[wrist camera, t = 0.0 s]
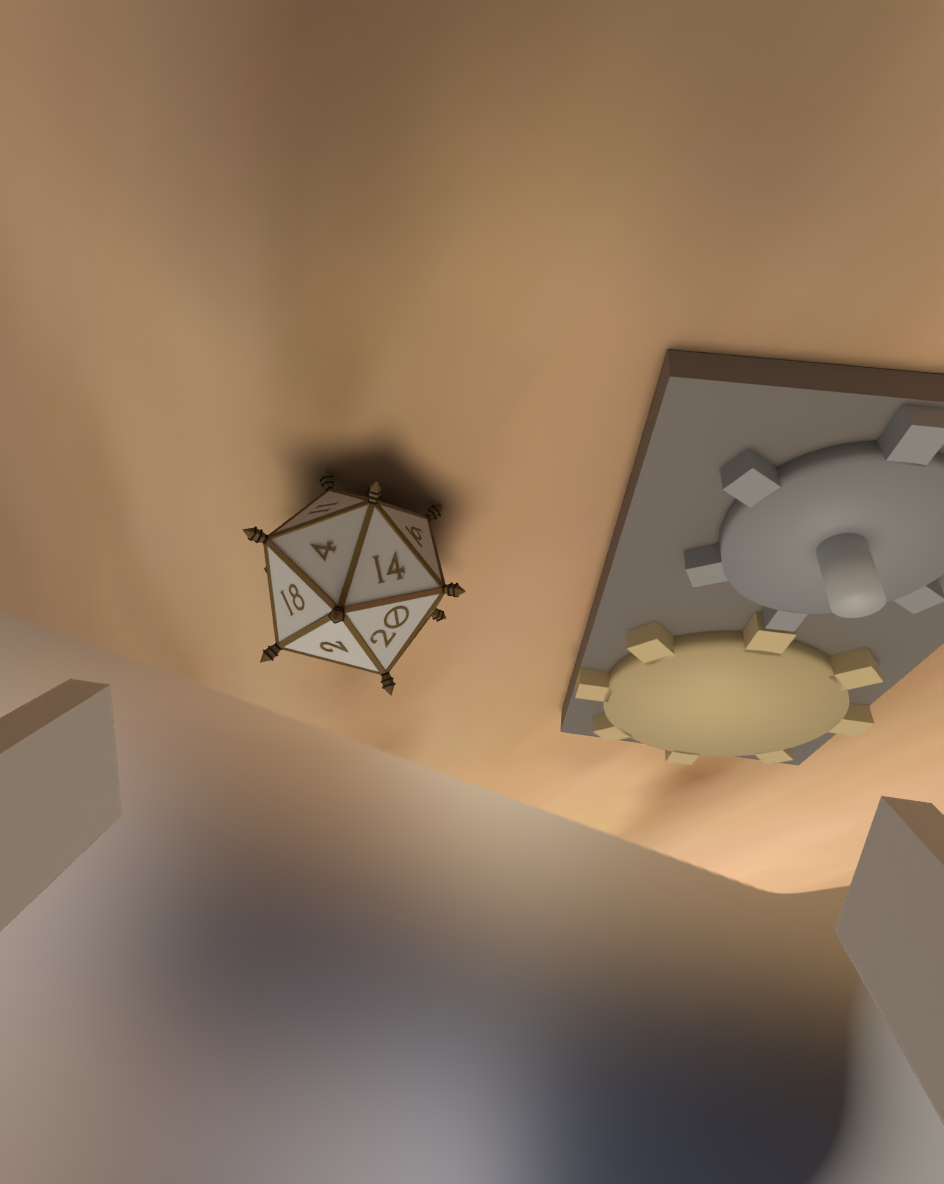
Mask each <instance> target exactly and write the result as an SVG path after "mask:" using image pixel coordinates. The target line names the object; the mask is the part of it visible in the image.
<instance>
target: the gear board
mask: <svg viewBox="0 0 944 1184" xmlns="http://www.w3.org/2000/svg"><path fill="white" fill-rule="evenodd" d="M943 643H944V374H933V373H921V372H910V371H899V370H888V369H877V368H866V367H854V366H843V365H832V364H821V363H810V362H799V361H788V360H776V359H765V358H754V357H743V356H732V355H721V354H709V353H698V352H687V351H676V350H667V353H666V357H665V360H664V363H663V367H662V370H661V374H660V377H659V381H658V384H657V387H656V391H655V394H654V398H653V401H652V404H651V408H650V411H649V415H648V418H647V422H646V425H645V428H644V432H643V435H642V439H641V442H640V445H639V449H638V452H637V456H636V459H635V463H634V466H633V469H632V473H631V476H630V480H629V483H628V486H627V490H626V493H625V497H624V500H623V504H622V507H621V510H620V514H619V517H618V521H617V524H616V528H615V531H614V534H613V538H612V541H611V545H610V548H609V551H608V555H607V558H606V562H605V565H604V569H603V572H602V575H601V579H600V582H599V586H598V589H597V592H596V596H595V599H594V603H593V606H592V610H591V613H590V616H589V620H588V623H587V627H586V630H585V633H584V637H583V640H582V644H581V647H580V651H579V654H578V657H577V661H576V664H575V668H574V671H573V674H572V678H571V681H570V685H569V688H568V692H567V695H566V698H565V702H564V705H563V709H562V717H561V732H566V733H573V734H580V735H587V736H594V737H601V738H603V739H604V740H606V741H607V742H611V741H615V740H622V741H630V742H637V743H644V744H646V745H649V746H652V747H656V748H659V749H663V750H665V757H666V762H673V763H680V764H687V765H692V764H693V763H694V761H695V760H696V759H697V758H698V756H722V757H728V756H736V757H743V758H750V759H757V760H761V761H763V762H764V763H765V764H772V763H785V764H792V765H799V764H801V763H802V762H803V761H804V760H805V759H807V758H808V757H809V756H810V755H811V754H812V753H814V752H815V751H816V750H817V749H818V748H820V747H821V746H822V745H823V744H824V743H826V742H827V741H828V740H829V739H830V738H832V737H833V736H834V735H835V734H836V733H837V734H844V735H851V736H859V735H860V734H861V733H863V732H864V731H865V730H866V729H868V728H869V727H870V726H871V725H873V724H874V721H873V718H872V714H871V711H870V707H869V706H870V705H871V704H872V703H873V702H874V701H876V700H877V699H878V698H879V697H880V696H881V695H883V694H884V693H885V692H886V691H887V690H889V689H890V688H891V687H892V686H893V685H895V684H896V683H897V682H898V681H899V680H901V679H902V678H903V677H904V676H905V675H906V674H908V673H909V672H910V671H911V670H912V669H914V668H915V667H916V666H917V665H918V664H920V663H921V662H922V661H923V660H924V659H925V658H927V657H928V656H929V655H930V654H931V653H933V652H934V651H935V650H936V649H937V648H939V647H940V646H941V645H942V644H943Z"/></svg>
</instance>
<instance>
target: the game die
mask: <svg viewBox="0 0 944 1184" xmlns="http://www.w3.org/2000/svg"><path fill="white" fill-rule="evenodd" d="M332 480H333V478H332V476H330V475H329V474H328V473H327V472H325V471H324V473H323V475H322V478H321V479H320V481H321V482H322V486H323V487H324V488H325V489H326V491H325V492H324V493H323V494H321V495H320V496H319V497H318V498H316V499H315V500H314V501H312V502H311V503H310V504H308V505H307V506H306V507H304V508H303V509H302V510H300V511H299V512H298V513H296V514H295V515H294V516H293V517H291V518H290V519H289V520H287V521H286V522H285V523H283V524H282V525H281V526H279V527H278V528H277V529H275V530H274V531H273V532H271V533H270V534H269V535H266V534H264V533H263V530H262V529H261V530H259V529H257V527H256V526H255V527H254V528H249V529H242V530H243V531H244V533H245V534H246V535H247V537H248V539H249V540H250V541H252V540H254V542H256V543H258V542H261V543H263V545H264V553H265V561H266V567H265V568H264V570H265V571H266V573H267V577H268V584H269V592H270V600H271V608H272V616H273V624H274V632H275V640H276V643H275V644H274V645H272V646H268V648H267V649H266V650H263V651H264V652H263V655H262V658H261V661H260V662H265V661H270V660H272V661H273V659H274V658H275V657H276V656H278V653H279V652H280V650H286V651H290V652H294V653H298V654H302V655H306V656H310V657H313V658H317V659H321V660H325V661H329V662H333V663H337V664H341V665H345V666H349V667H353V668H357V669H361V670H365V671H368V672H372V673H376V674H380V675H381V676H382V681H381V683H382V684H383V687H382V689H385V690H386V691H387V692H388V693H389V694H390V695H392V692H393V688H394V685H395V684H396V683H394V682H393V679H394V678H392V677H391V676H390V674H389V672H390V670H391V669H392V667H393V666H394V665H395V663H396V662H397V661H398V659H399V658H400V657H401V655H402V654H403V653H404V651H405V650H406V649H407V647H408V646H409V645H410V643H411V642H412V641H413V639H414V638H415V637H416V635H417V634H418V633H419V631H420V630H421V629H422V627H423V626H424V625H425V623H426V622H427V621H428V619H429V618H430V617H431V616H432V617H433V620H434V619H436V620H437V622H438V621H440V620H442V619H446V616H445V614H444V611H442V610H439V609H437V608H436V607H437V606H438V604H439V602H440V601H441V599H442V597H443V596H444V594H445V593H446V594H448V596H453V597H458V596H459V595H461V594H462V593H464V592H466V591H465V590H464V589H462V588H461V587H460V586H459V584H458V583H456V584H453V583H450V584H448V585H446V584H445V580H444V576H443V572H442V568H441V564H440V560H439V556H438V552H437V548H436V544H435V540H434V536H433V532H432V528H431V524H430V521H431V520H433V519H437V517H438V516H441V515H440V513H441V509H442V505H441V506H433V505H432V507H431V509H428V512H427V514H426V515H423V514H420V513H417V512H414V511H411V510H408V509H404V508H401V507H398V506H395V505H392V504H389V503H386V502H383V501H379V500H378V499H379V498H380V497H382V495H381V493H382V492H383V490H382V489H381V488H380V486H379V484H378V482H377V481H376V482H375V483H373V484H372V485H371V486H368V491H367V494H368V497H365V496H361V495H357V494H353V493H349V492H345V491H341V490H337V489H334V488H333V485H334V482H333V481H332Z"/></svg>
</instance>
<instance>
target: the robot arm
mask: <svg viewBox="0 0 944 1184" xmlns="http://www.w3.org/2000/svg"><path fill="white" fill-rule="evenodd" d="M110 687H111V686H110V685H109V684H102V683H95V682H88V681H81V680H74V679H69V680H67V681H65V682H64V683H62V684H60V685H58V686H56V687H55V688H53V689H51V690H49V691H48V692H46V693H44V694H42V695H41V696H39V697H37V698H35V699H33V700H31V701H30V702H28V703H26V704H25V705H23V706H21V707H19V708H17V709H15V710H14V711H12V712H10V713H9V714H7V715H5V716H3V717H1V718H0V932H1V931H2V930H3V929H4V928H5V927H6V926H7V925H8V924H9V923H10V922H11V921H12V920H13V919H14V918H15V917H16V916H17V915H18V914H19V913H20V912H22V910H24V909H25V907H27V906H28V905H29V904H30V903H31V902H32V901H33V900H34V899H35V898H36V897H37V896H38V895H39V894H40V893H41V892H42V891H44V889H46V888H47V887H48V886H49V885H50V884H51V883H52V882H53V881H54V880H55V879H56V878H57V877H58V876H59V875H60V874H61V873H62V872H63V871H64V870H65V869H67V868H68V867H69V866H70V865H71V864H72V863H73V862H74V861H75V860H76V859H77V858H78V857H79V856H80V855H81V854H82V853H83V852H84V851H85V850H86V849H87V848H88V847H89V846H91V845H92V844H93V843H94V842H95V841H96V840H97V839H98V838H99V837H100V836H101V835H102V834H103V833H104V832H105V831H106V830H107V829H108V828H109V827H110V826H111V825H113V824H114V823H115V822H116V821H117V820H118V819H119V818H120V817H121V816H122V809H121V798H120V786H119V775H118V764H117V753H116V742H115V730H114V719H113V708H112V698H111V688H110ZM835 933H836V935H837V936H838V938H839V940H840V941H841V943H842V945H843V947H844V949H845V951H846V952H847V954H848V956H849V957H850V959H851V961H852V963H853V965H854V966H855V968H856V970H857V972H858V974H859V975H860V977H861V979H862V981H863V982H864V984H865V986H866V988H867V990H868V991H869V993H870V995H871V997H872V998H873V1000H874V1002H875V1004H876V1006H877V1007H878V1009H879V1011H880V1013H881V1014H882V1016H883V1018H884V1020H885V1021H886V1023H887V1025H888V1027H889V1028H890V1030H891V1032H892V1034H893V1035H894V1037H895V1039H896V1041H897V1043H898V1044H899V1046H900V1048H901V1050H902V1051H903V1053H904V1055H905V1057H906V1059H907V1060H908V1062H909V1064H910V1066H911V1068H912V1069H913V1071H914V1073H915V1075H916V1076H917V1078H918V1080H919V1082H920V1084H921V1085H922V1087H923V1089H924V1091H925V1092H926V1094H927V1096H928V1098H929V1099H930V1101H931V1103H932V1105H933V1107H934V1108H935V1110H936V1112H937V1114H938V1115H939V1117H940V1119H941V1121H942V1123H943V1124H944V815H943V814H942V813H941V812H940V811H939V810H938V809H937V808H936V807H935V806H934V805H933V804H932V803H927V802H920V801H913V800H906V799H899V798H892V797H885V796H881V799H880V801H879V804H878V807H877V810H876V813H875V816H874V819H873V822H872V825H871V827H870V830H869V833H868V836H867V839H866V842H865V845H864V848H863V851H862V853H861V856H860V859H859V862H858V865H857V868H856V871H855V874H854V876H853V879H852V882H851V885H850V888H849V891H848V894H847V897H846V900H845V903H844V905H843V908H842V911H841V914H840V917H839V920H838V923H837V926H836V929H835Z"/></svg>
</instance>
